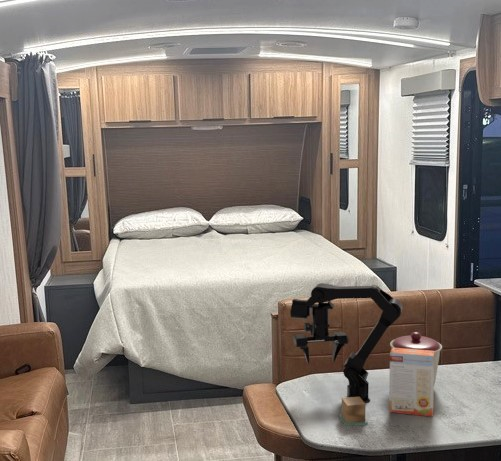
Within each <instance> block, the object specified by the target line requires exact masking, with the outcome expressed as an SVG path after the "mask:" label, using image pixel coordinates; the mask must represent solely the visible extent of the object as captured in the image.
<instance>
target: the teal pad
mask: <svg viewBox="0 0 501 461" xmlns="http://www.w3.org/2000/svg"><path fill="white" fill-rule="evenodd" d="M338 416H339V418H340V420H341V421H342V422H343V424H344V426H345V427H353V426H364V425H368V424H369V423H368V421H367V419H365V422H358V423H347V422H346V421H345V419H344V418H343V416H342V414H339V415H338Z"/></svg>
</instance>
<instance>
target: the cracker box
mask: <svg viewBox="0 0 501 461" xmlns="http://www.w3.org/2000/svg"><path fill="white" fill-rule="evenodd" d="M390 349H391V350H390V352H389V405H388V406H389V407H388V408H389V412H390V413H397V414H406V415H415V416H416V415H417V416H425V417H433V415H434V404H435V403H434V401H435V400H434V396H435V395H434V394H435V393H434V392H435V385H434V351H429V350H417V349H404V348H392V347H391V348H390Z"/></svg>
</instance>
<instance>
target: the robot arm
mask: <svg viewBox="0 0 501 461" xmlns="http://www.w3.org/2000/svg"><path fill="white" fill-rule="evenodd" d="M340 299H341V300H343V299H344V300H346V299H347V300H351V299H353V300H354V299H371V300H372V301H373V302H374V303H375V304H376V305H377V306H378V308H379V309H380V310H381V311H382V312H381V314H380V316H379V319H378V321H377V322H376V323H375V325H374V327H373V328H372V330H371V331H370V333H369V334H368V336H367V337H366V339H365V340H364V342H363V344H362V345H361V347H360V348H359V349H358V351H357V352H356V353H354V352H353V351H351V352H350V355H349V356H348V358H347V359H345V362H344V364H343V365H342V367H343V371H342V372H343V376H344V377H345V378H346V379H347V381H348V385H347V386H346V387H347V388H346V389H347V390H346V394H347V396H346V397H347V398H348V397H360V398H361V399H362V400H363V402H364V403H366V402H371V399H370V398H369V387H370V386H369V381H368V380H367V378H368V376H369V372H368V371H367V369H365V368H364V365H365V363H366V361H367V359H368V357H369V356H370V354H371V353H372V352H373V350H374V349H375V347H376V345H377V344H378V343H379V341H380V340H381V338H382V337H383V336H384V334H385V332H386V330H388V328H389V327H390V326H392V325H393V324H394V323H395V322H396V321H397V320H398V319H399V318H400V316H401V315H402V311H403V303H402V302H401V301H400V300H399V299H397V298H394V297H393V296H391V294H389V293H387V292H386V291H385V290H383V289H382V288H381V287H380V286H378V285H376V284H372V285H352V286H351V285H349V286H340V285H339V286H337V285H334V284H329V283H324V282H323V283H322V282H321V283H318V284H316V285H315V286H314V288H312V290H311V291H310V297H308V299H298V298H293V299H292V300H291V301H292V302H291V305H290V306H291V307H290V318H291V319H297V320H298V319H299V320H301V319H302V320H308V319H309V318H310V317H311V318H312V320H311V322H310V321H309V322H304V323H303V330H304V331H303V332H305V333H306V332H308V333H309V334H310V336H306V335H305V333H302V334H294V336H293V337H292V338H293V339H292V340H293V341H292V342H293V344H294V345H295V347H297V348H299V349H300V350H302V351H303V354H304V357H305V360H306V363H307V364H310V353H309V352H310V350H309V345H308V344H309V343H320V342H321V343H322V342H332V354H331V355H332V358H331V359H332V360H331V361H332V362H333V363H335V361H336V359H337V357H338V354H339V353H340V351H341V349H342V348H343V347H345V346H346V345H347V344H349V336H348V335H347V334H346V333H345V332H344V331H334V332H333V334H332V335H330V334H329V333H330V321H329V320H330V319H329V318H330V316H329V315H330V312H329V310H333V309H334V307H335V306H336V305H335V304H334V303H332V302H333V301H334V300H340Z"/></svg>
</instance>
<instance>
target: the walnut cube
mask: <svg viewBox="0 0 501 461" xmlns="http://www.w3.org/2000/svg"><path fill="white" fill-rule="evenodd" d="M366 405H367V404H366V402H363V400H362V399H361V398H360V397H348V396H347V397H341V415H342V416H343V418H344V419H345V421H346V422H347V423H358V422H365V420H366V410H367V409H366V407H367V406H366Z"/></svg>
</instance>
